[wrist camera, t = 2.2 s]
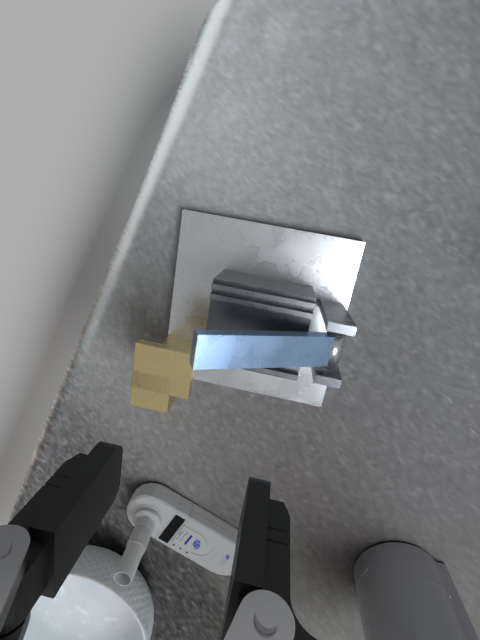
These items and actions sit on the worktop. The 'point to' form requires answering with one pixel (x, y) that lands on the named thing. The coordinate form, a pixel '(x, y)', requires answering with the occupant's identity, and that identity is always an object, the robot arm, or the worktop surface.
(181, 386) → the block
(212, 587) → the worktop surface
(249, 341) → the blue bar
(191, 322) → the clip base
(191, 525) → the electronic device
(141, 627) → the cereal bowl
